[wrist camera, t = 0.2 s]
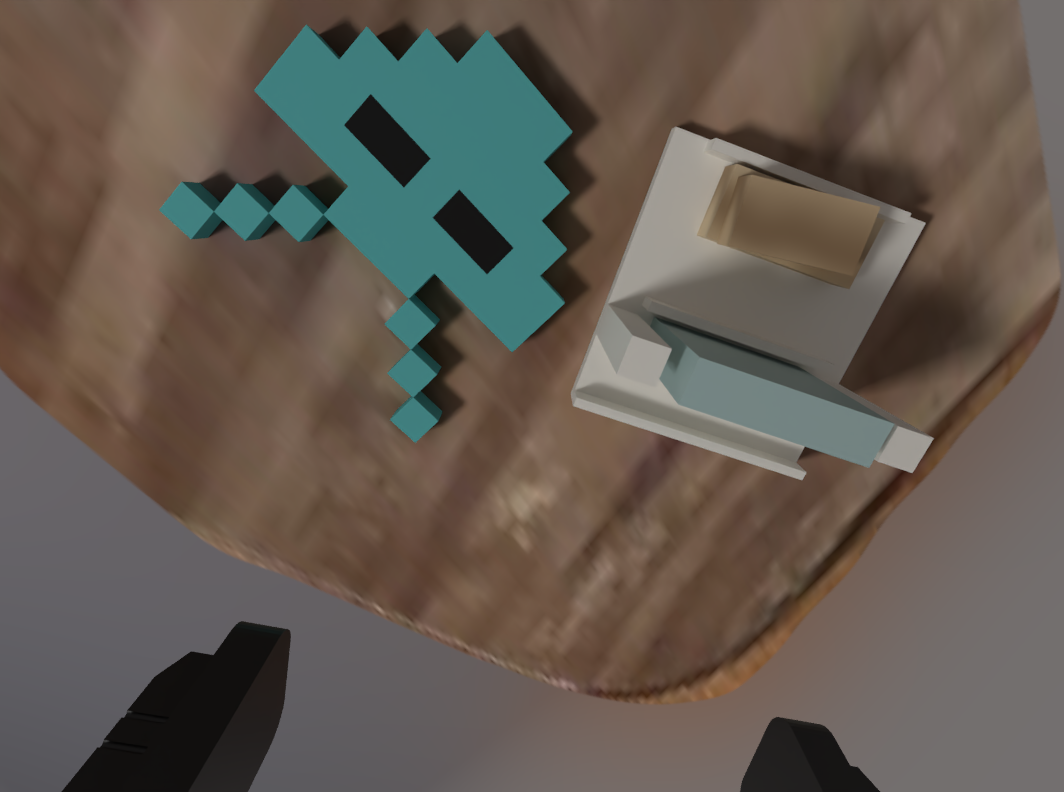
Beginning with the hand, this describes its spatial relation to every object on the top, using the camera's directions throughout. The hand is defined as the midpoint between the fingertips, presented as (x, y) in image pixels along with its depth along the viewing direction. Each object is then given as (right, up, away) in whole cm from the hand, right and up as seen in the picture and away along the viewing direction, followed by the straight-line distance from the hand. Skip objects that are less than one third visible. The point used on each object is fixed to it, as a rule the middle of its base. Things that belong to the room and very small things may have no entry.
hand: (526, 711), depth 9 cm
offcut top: (+14, +15, +22) cm, 30 cm away
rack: (+13, +10, +26) cm, 31 cm away
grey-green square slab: (+12, +7, +26) cm, 30 cm away
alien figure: (-7, +16, +25) cm, 31 cm away
